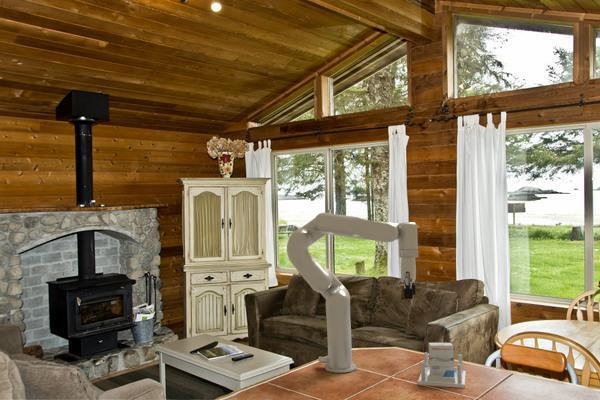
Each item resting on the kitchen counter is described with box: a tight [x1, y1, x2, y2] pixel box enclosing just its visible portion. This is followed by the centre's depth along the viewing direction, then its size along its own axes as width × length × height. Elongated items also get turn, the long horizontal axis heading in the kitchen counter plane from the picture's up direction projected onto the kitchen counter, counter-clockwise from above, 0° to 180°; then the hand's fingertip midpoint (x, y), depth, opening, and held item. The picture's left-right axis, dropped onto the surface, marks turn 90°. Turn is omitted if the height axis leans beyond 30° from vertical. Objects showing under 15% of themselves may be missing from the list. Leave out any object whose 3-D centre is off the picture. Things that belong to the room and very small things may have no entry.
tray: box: [417, 352, 467, 389], centre depth 195 cm, size 16×16×8 cm
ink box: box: [428, 342, 455, 378], centre depth 195 cm, size 8×5×12 cm, turn 82°
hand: (410, 296), depth 209 cm, fingers open, 9 cm apart
